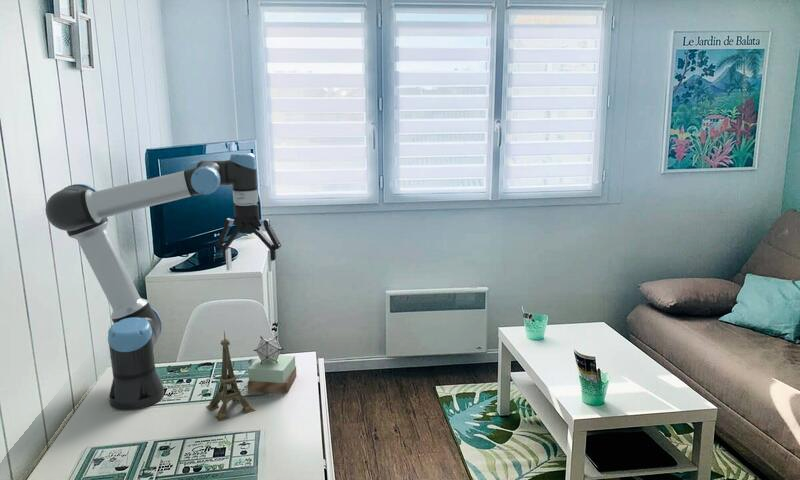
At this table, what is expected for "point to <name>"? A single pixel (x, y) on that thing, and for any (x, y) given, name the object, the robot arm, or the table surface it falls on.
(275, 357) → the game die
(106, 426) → the table surface
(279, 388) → the base block
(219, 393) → the eiffel tower
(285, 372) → the top block
